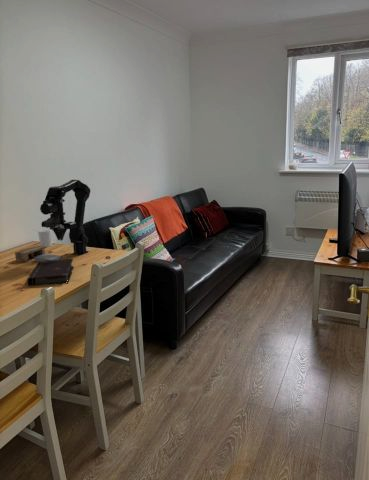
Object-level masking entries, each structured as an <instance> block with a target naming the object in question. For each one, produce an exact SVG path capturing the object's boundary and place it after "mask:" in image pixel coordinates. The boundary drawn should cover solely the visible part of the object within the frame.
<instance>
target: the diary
mask: <svg viewBox="0 0 369 480" xmlns="http://www.w3.org/2000/svg"><path fill="white" fill-rule="evenodd" d="M73 260H74V259H73V258H62V259H60V260H49V261H41V262H37V264H36V265H35V267H33V269H32V272H31V273H30V275H29V276H28V277H27V280H26V282H27V286H28V287H30V286H31V284H32V285H33V286H35V285H36V286H41V285H48V286H49V285H50V286H51V285H64V284H63V283H66V282H67V283H66V284H68V282H69V283H70V280H71V277H72V275H73V270H74V268H75V267H74V266H73V264H72V263H73ZM67 280H68V281H67Z"/></svg>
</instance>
